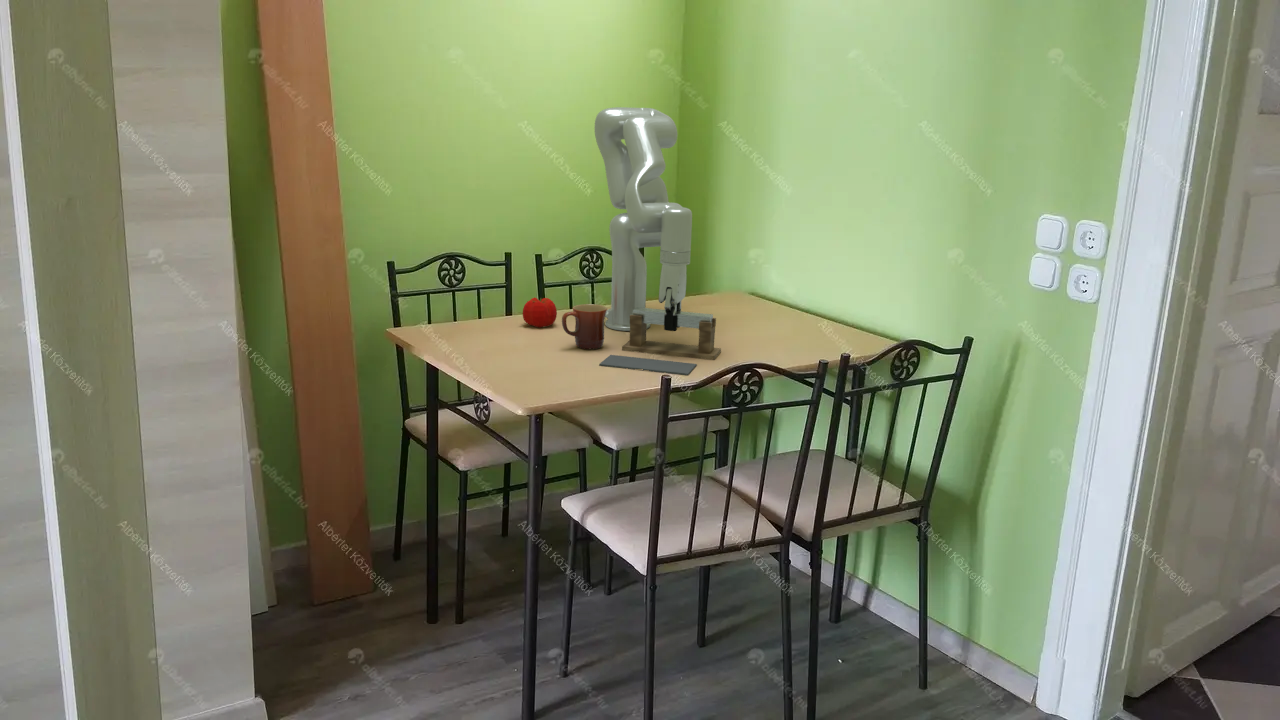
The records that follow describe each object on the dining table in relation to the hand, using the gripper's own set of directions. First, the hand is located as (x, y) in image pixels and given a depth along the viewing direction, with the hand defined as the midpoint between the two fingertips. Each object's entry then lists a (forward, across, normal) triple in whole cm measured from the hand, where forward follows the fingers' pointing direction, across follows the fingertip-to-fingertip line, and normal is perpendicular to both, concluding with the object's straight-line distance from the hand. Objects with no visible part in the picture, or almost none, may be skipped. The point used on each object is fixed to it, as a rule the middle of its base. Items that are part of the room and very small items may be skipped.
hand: (672, 328), depth 254 cm
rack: (+6, 0, 0) cm, 6 cm away
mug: (+6, +5, -22) cm, 23 cm away
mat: (+6, +15, -2) cm, 16 cm away
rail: (-1, 0, 0) cm, 1 cm away
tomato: (+7, -12, -41) cm, 43 cm away
